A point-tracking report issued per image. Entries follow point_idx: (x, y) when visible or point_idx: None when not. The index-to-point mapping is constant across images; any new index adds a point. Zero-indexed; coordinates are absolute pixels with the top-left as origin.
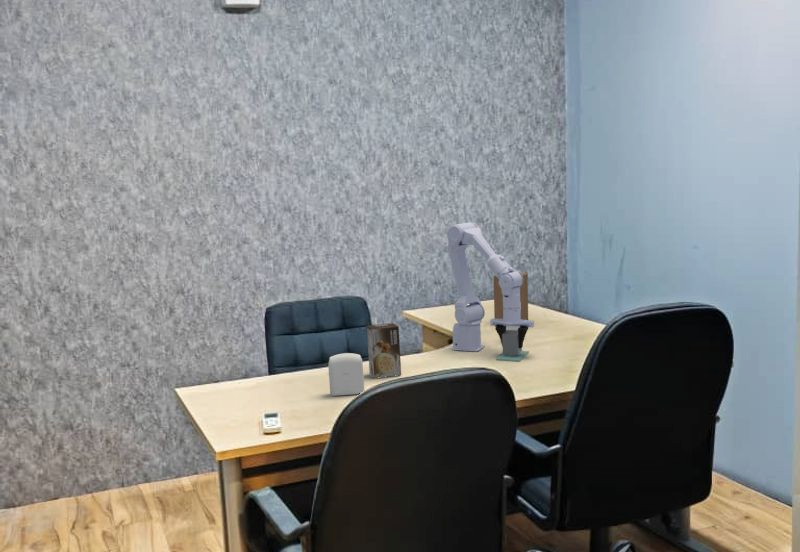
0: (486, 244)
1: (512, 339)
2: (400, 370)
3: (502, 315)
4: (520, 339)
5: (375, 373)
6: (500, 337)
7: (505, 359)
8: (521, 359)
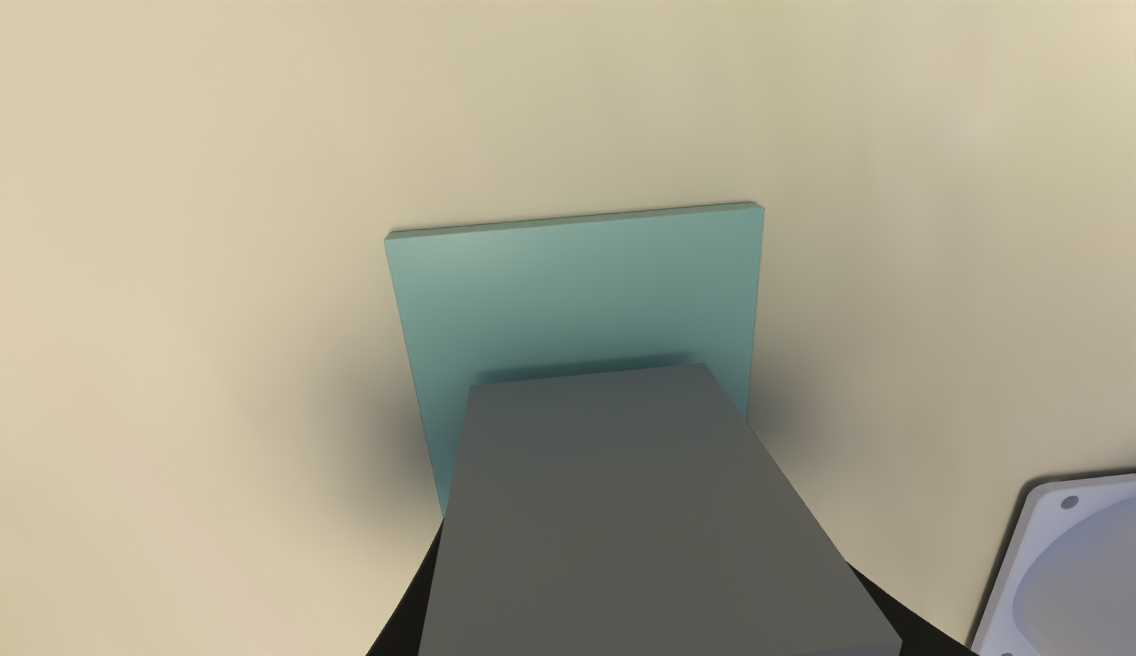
0: None
1: (563, 564)
2: None
3: None
4: (403, 642)
5: None
6: (886, 604)
7: (611, 216)
8: (410, 338)
